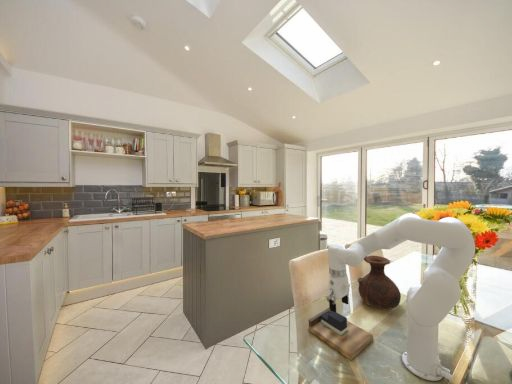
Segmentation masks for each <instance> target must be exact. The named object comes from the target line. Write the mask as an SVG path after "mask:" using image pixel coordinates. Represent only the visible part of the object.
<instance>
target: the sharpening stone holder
mask: <svg viewBox="0 0 512 384" xmlns="http://www.w3.org/2000/svg"><path fill="white" fill-rule="evenodd" d="M331 312H333V311H331V310H330V308H329V307H327V308H326V309H324V310H322V311H321V312H319V313H318V314H316V315H314V316H312V317H311V318H309V319H308V332H311V333H312V334H313V335H314V336H316V337H317V338H319V339H320V340H322V341H323V342H324V343H326V344H327V345H328V346H330V347H331V348H332V349H334V350H336V351H337V352H338V353H340V354H341V355H342V356H344V357H345V358H346V359H348V360H349V361H352V360H354V358H355V357H357V356H358V355H359V354H360V353H361V352H362V351H363V350H364V349H365V348H366V347H368V346H369V345H370V343H372V342H373V341H374V335H373V334H372V333H370V332H369V331H366V330H365V329H363V328H361V327H360V326H358V325H356V324H354V323H352V322H350V321H348V320H347V331H345V332H344V333H343V334H342V335H340V334H339V333H337V332H336V331H334V330H332V329H331V328H329V327H328V326H326V325H325V324H323V323H321V316H322V315H324V314H325V313H329V314H330V313H331Z"/></svg>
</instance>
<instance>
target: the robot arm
mask: <svg viewBox="0 0 512 384" xmlns="http://www.w3.org/2000/svg"><path fill="white" fill-rule="evenodd" d="M407 241H409V242H410V241H411V242H414V243H419V244H424V245H429V246H435V247H440V250H439V251H438V253H437V255H435V257H434V259H433V260H432V261H431V262H430V264H429V265H428V266H427V268H426V269H425V270H424V272H423V273H422V275H423V276H422V280H423V283H422V284H414V285H412V286H410V287H409V288H408V290H407V293H406V350H405V351H404V352H403V353H402V354H401V361H402V363H403V365H404V366H405V368H406V369H407V370H408V371H410V372H411V373H412V374H413V375H415V376H417V377H419V378H420V379H423V380H427V381H430V382H436V381H437V382H438V381H440V380H442V379H443V378H444V379H446V380H448V381H449V382H451V383H452V382H453V381H454V376H453V375H452V374H451V370H450V369H449V368H446V367H444V366H443V365H442V364H441V359H439V324H440V323H441V322H442V321H443V320H444V319H445V318H446V317H447V316H448V314H450V313H451V311H452V310H453V309H454V308H455V306H456V305H457V304H458V302H459V301H460V299H461V295H462V288H461V286H460V283H459V282H460V280H461V278H462V277H463V275H464V274H465V273H466V271H467V270H468V268H469V267H470V266H471V264H472V262H473V260H474V258H475V255H476V243H475V238H474V236H473V234H472V231H471V229H470V228H469V227H468V226H467V225H466V224H465V223H464V222H463V221H462V220H460V219H458V218H455V217H451V216H447V217H443V218H441V219H439V220H434V219H426V218H422V217H421V216H419V215H418V214H416V213H412V212H411V213H409V212H408V213H404V214H403V215H401V216H399V217H398V218H396V219H394V220H392V221H390V222H389V223H387V224H385V225H384V226H382V227H379V228H378V229H376V230H375V231H373V232H372V233H370V234H368V235H366V236H364V237H362V238H360V239H358V240H357V241H354V242H353V243H351V244H350V246H349V247H348V248H345V246H344V245H343V244H338V243H333V244H330V245H329V246H327V247H328V248H327V252H328V255H327V256H328V274H329V275H328V292H327V293H326V295H325V298H326V301H327V302H328V306H329V307H328V308H330V310H331V311H333V312H335V313H336V312H337V303H336V301H339V300H341V303H343V304H345V305H347V306H348V305H349V295H350V294H349V293H350V287H351V284H350V282H349V277H348V273H347V266H350V267H359V266H360V265H361V264H362V263H363V261H364V257H366V256H370V255H371V254H373V253H375V252H377V251H381V250H391V249H394V248H396V247H397V246H399V245H400V244H403V243H404V242H407Z"/></svg>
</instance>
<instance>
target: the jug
mask: <svg viewBox="0 0 512 384" xmlns="http://www.w3.org/2000/svg"><path fill="white" fill-rule="evenodd" d="M363 261H364V262H366V263H367V264H369V265H370V271H369V273H367V274H366V275H364V276H363V277H362V276H361V277H358V278H357V282H358V293H359V297H360V299H361V300H362V301H363V302H364V303H365V304H367V305H368V306H370V307H373V308H374V309H376V310H377V309H378V310H384V311H385V310H391V309H394V308H397V307H398V306H399V305H400V303H401V297H402V296H401V291H400V289H399V287H398V285H396V283H395V282H394V281H393V280H392V279H391V278H390V277H389V276H387V275H386V273H385V266H386V265H390V264H391V260H389V258H386V257H384V256H379V255H367V256H366V257H364V259H363Z"/></svg>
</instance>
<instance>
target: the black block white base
mask: <svg viewBox="0 0 512 384" xmlns="http://www.w3.org/2000/svg"><path fill="white" fill-rule="evenodd" d="M347 321H348V318H347V317H346V316H344V315H342V314H340V313H339V312H337V311H336V313H335V312H331V313H330V314H329V313H325V314H324V315H322V316H321V323H323V324H325V325H326V326H328V327H329V328H331V329H332V330H334V331H336V332H337V333H339V334H340V335H342V334H343V333H344V332H345V331H347Z"/></svg>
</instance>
